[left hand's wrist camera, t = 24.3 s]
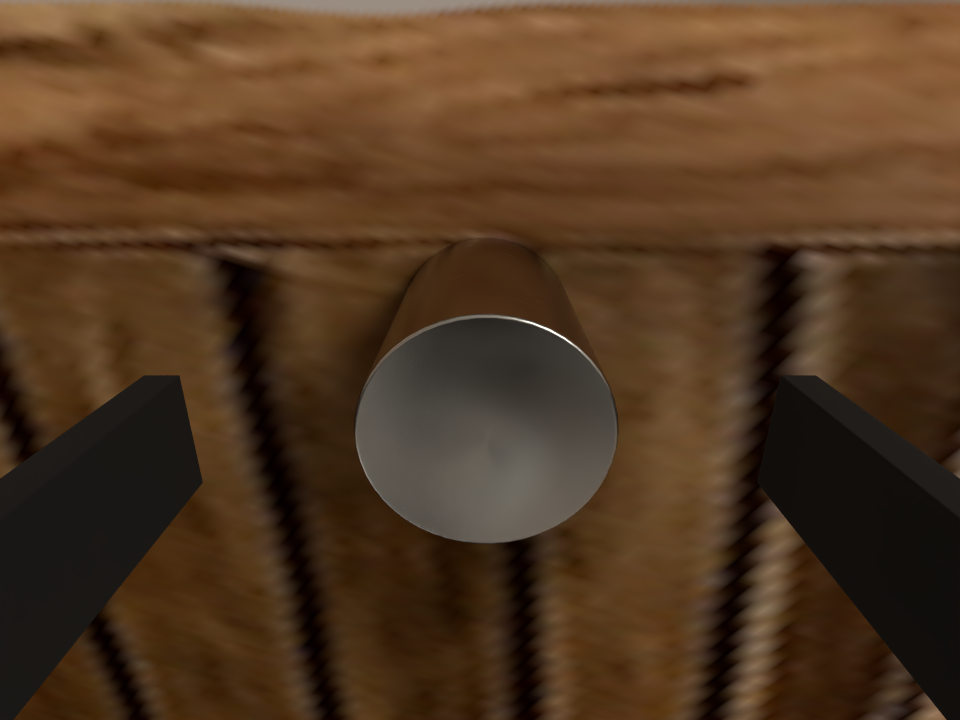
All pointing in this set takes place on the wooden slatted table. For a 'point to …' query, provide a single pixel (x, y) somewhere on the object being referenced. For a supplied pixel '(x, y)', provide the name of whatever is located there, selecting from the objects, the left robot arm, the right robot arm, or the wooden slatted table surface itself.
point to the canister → (486, 400)
